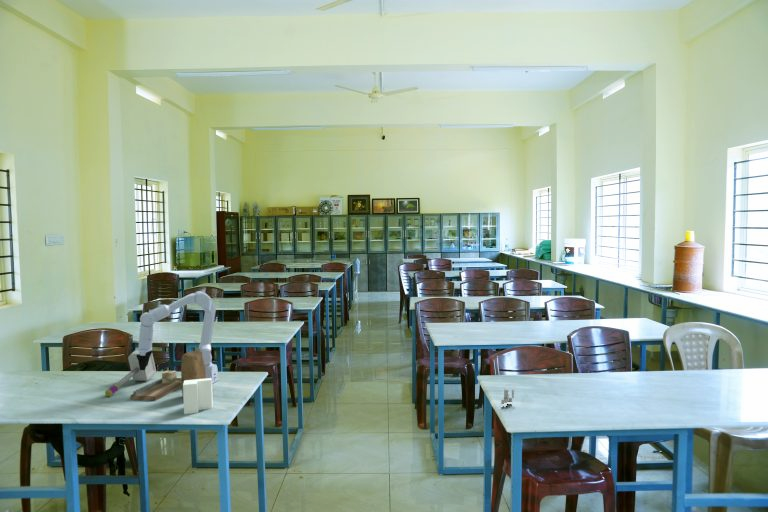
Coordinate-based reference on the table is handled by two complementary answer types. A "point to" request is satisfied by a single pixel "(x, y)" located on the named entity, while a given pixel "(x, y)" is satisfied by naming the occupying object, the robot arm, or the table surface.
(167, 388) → the board
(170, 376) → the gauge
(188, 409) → the corner bracket
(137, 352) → the hammer
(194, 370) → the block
